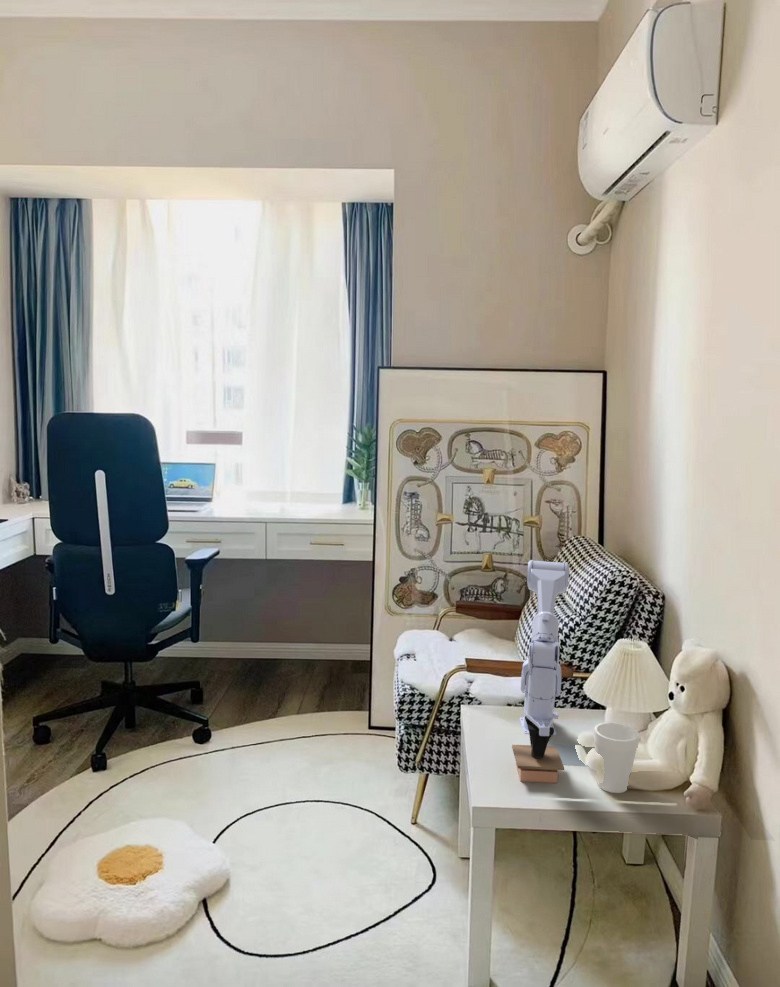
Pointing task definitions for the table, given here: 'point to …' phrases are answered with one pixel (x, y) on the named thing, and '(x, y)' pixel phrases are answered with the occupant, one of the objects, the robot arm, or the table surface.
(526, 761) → the lid
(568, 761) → the mat
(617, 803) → the table surface
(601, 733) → the foam cup
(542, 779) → the open box
